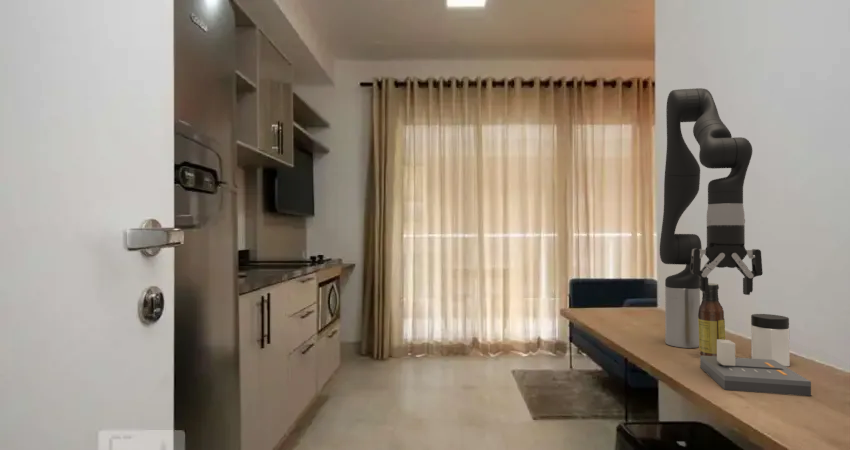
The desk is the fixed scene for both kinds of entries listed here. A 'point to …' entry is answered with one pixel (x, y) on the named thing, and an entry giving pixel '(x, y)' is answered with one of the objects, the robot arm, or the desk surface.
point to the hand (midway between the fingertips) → (725, 293)
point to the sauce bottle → (710, 322)
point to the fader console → (756, 376)
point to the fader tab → (726, 352)
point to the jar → (770, 338)
